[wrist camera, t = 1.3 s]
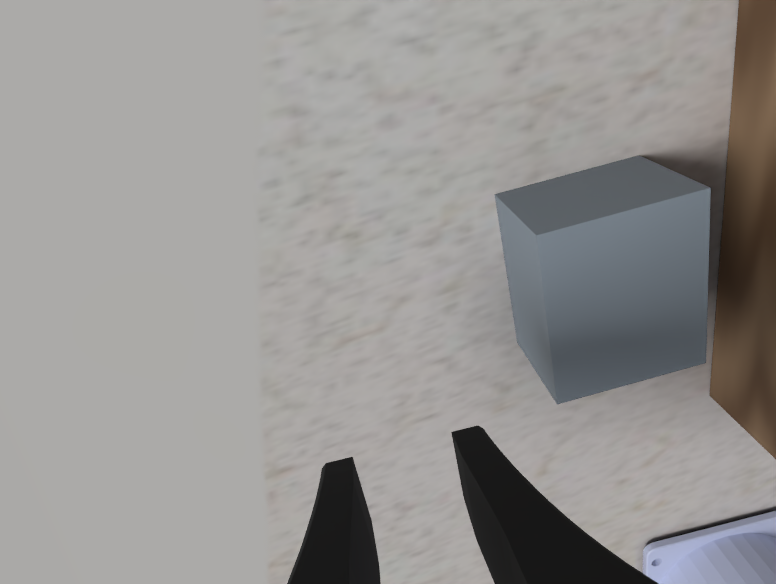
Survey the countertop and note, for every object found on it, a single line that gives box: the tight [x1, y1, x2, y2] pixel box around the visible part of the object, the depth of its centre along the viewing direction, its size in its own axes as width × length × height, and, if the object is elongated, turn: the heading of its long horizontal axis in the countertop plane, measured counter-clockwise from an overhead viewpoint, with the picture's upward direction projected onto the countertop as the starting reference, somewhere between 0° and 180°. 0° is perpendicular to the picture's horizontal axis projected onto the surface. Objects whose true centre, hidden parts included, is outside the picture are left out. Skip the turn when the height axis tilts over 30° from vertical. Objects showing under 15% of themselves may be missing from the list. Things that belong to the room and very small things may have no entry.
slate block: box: [495, 156, 711, 404], centre depth 19 cm, size 6×5×4 cm
